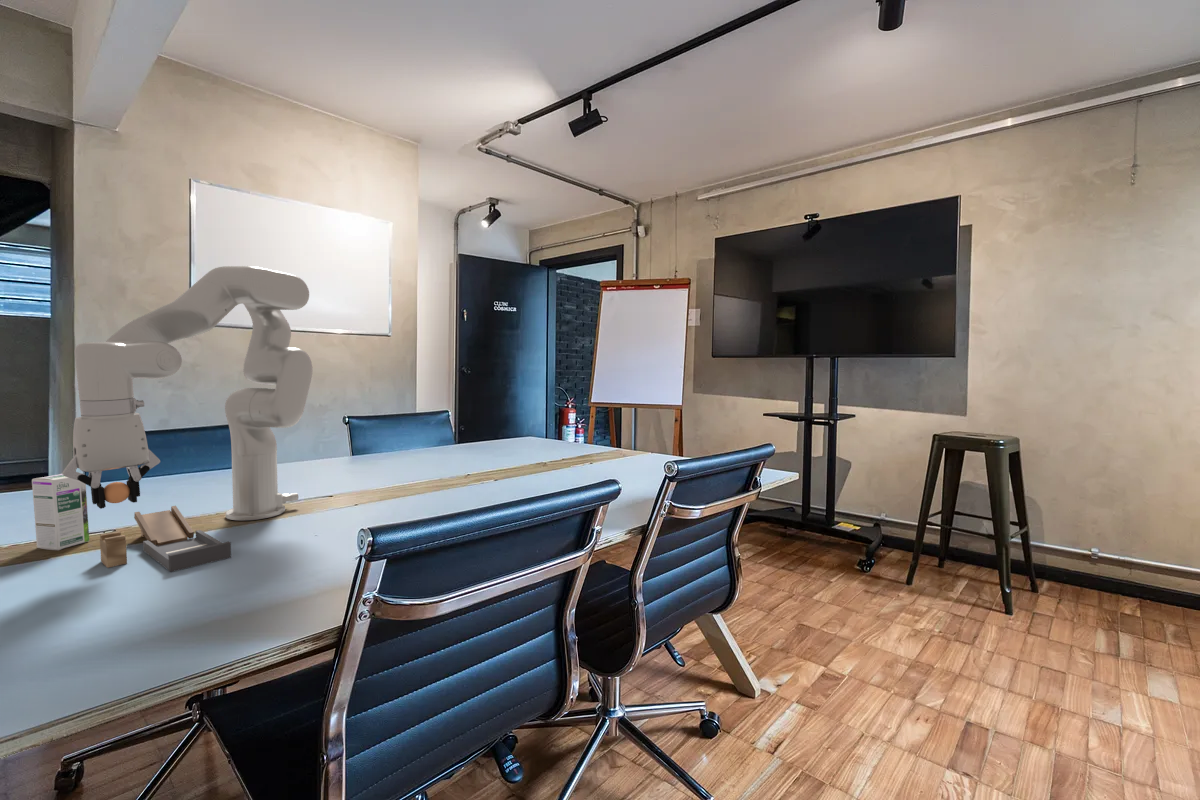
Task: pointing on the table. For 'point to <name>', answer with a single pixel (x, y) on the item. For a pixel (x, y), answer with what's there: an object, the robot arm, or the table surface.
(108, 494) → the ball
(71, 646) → the table surface
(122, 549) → the wooden upright block
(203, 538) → the lane
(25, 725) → the table surface
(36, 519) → the syrup box
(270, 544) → the table surface
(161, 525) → the ramp
